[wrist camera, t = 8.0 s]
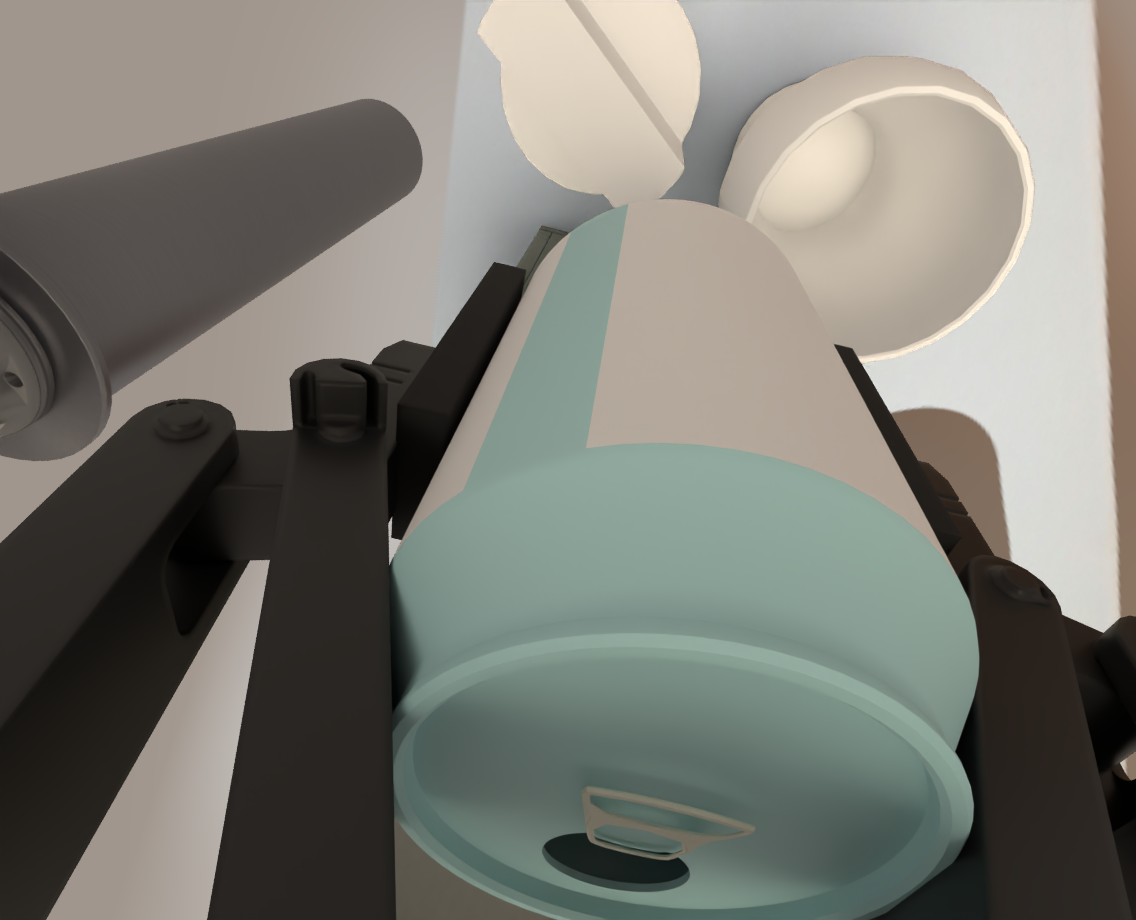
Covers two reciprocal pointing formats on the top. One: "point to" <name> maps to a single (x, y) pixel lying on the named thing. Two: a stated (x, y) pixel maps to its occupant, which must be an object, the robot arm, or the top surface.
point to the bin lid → (442, 890)
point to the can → (677, 605)
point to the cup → (886, 197)
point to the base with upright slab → (598, 90)
